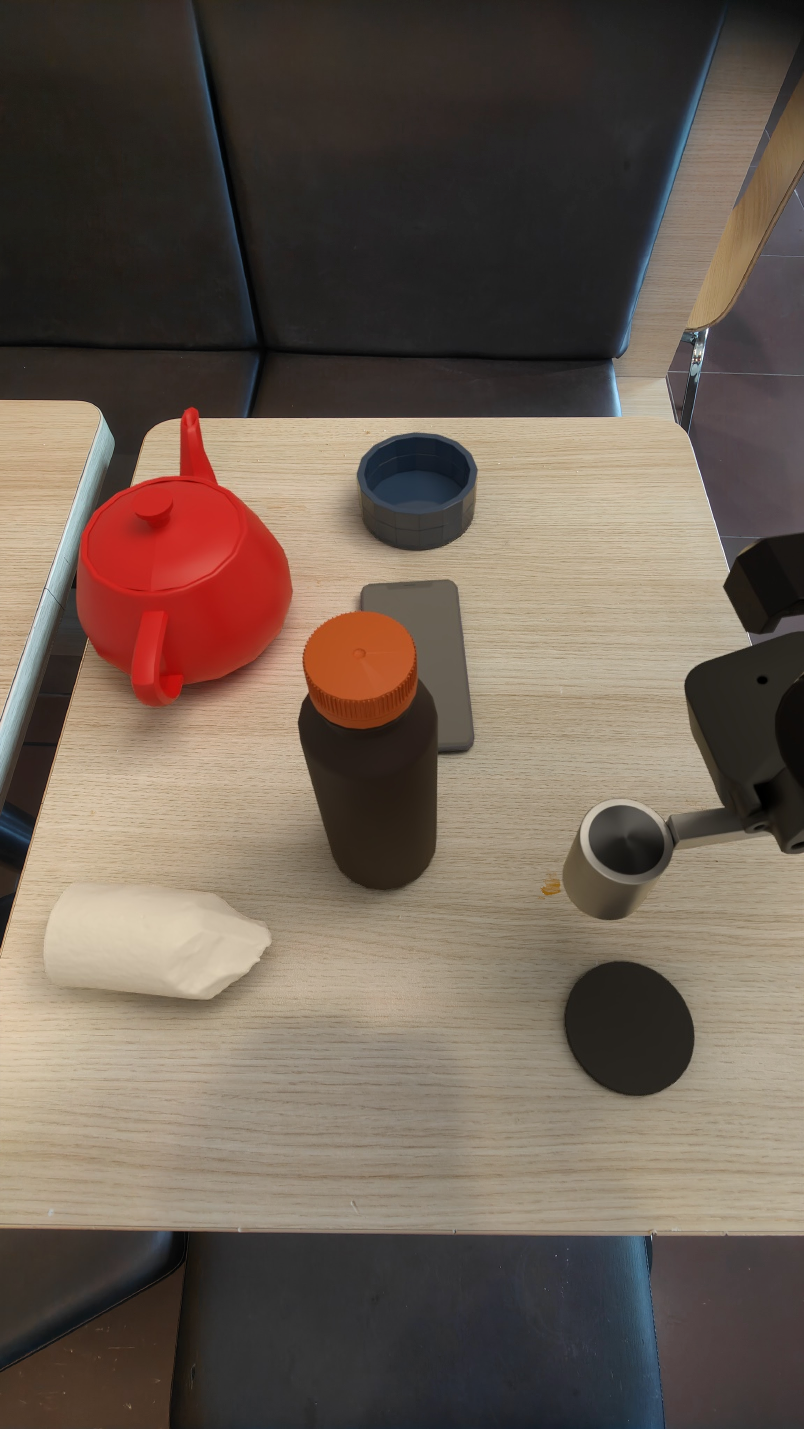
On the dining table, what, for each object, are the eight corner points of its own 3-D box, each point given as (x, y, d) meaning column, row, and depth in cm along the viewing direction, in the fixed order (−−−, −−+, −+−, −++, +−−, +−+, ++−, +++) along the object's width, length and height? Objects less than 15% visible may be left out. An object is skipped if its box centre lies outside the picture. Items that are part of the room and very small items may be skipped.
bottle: (456, 827, 50) (469, 634, 34) (397, 913, 48) (378, 749, 31) (371, 777, 53) (342, 571, 36) (309, 856, 50) (246, 673, 33)
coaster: (662, 951, 46) (664, 948, 45) (713, 1078, 42) (716, 1077, 42) (547, 978, 45) (548, 976, 45) (589, 1110, 42) (591, 1109, 41)
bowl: (458, 462, 69) (459, 424, 66) (488, 538, 64) (491, 501, 61) (351, 481, 68) (347, 443, 65) (373, 559, 63) (370, 523, 60)
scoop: (842, 802, 40) (897, 749, 35) (879, 877, 38) (943, 831, 33) (552, 848, 39) (570, 799, 34) (574, 927, 37) (595, 887, 32)
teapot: (287, 750, 54) (254, 642, 44) (64, 754, 54) (-21, 648, 44) (309, 498, 67) (288, 370, 57) (130, 503, 68) (77, 376, 57)
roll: (271, 1016, 45) (251, 993, 40) (69, 995, 46) (27, 970, 41) (289, 913, 48) (274, 881, 43) (100, 896, 49) (65, 862, 44)
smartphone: (364, 752, 53) (359, 582, 60) (365, 759, 53) (360, 590, 61) (476, 745, 53) (457, 576, 60) (475, 752, 53) (456, 585, 61)
